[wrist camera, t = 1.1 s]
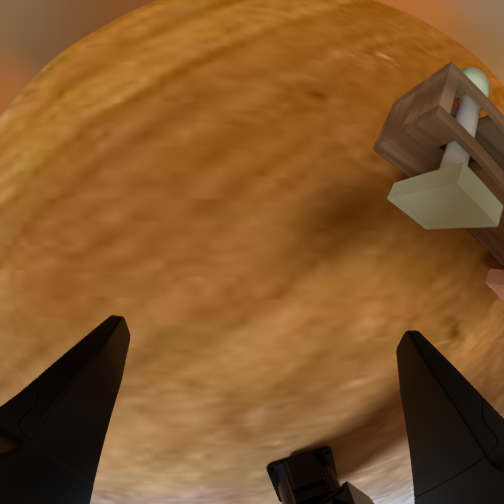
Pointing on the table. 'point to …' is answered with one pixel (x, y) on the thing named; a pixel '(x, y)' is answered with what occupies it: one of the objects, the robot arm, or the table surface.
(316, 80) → the table surface
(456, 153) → the sage button
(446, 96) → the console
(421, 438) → the robot arm
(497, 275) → the pink block with rod
